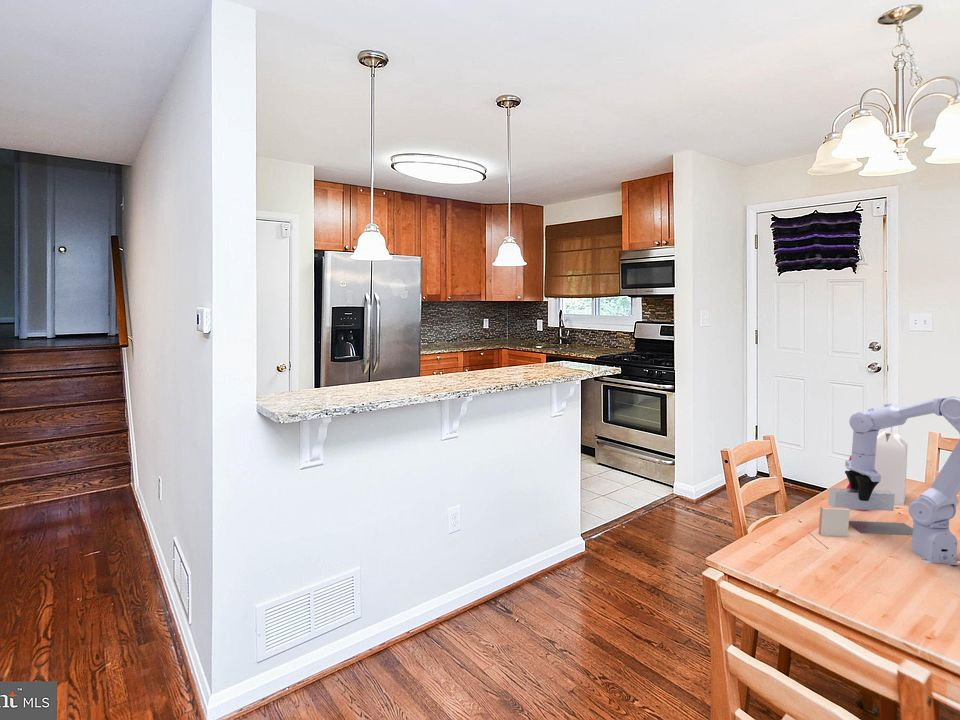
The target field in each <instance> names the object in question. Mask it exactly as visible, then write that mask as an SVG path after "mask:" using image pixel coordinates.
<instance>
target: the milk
mask: <svg viewBox="0 0 960 720" xmlns="http://www.w3.org/2000/svg"><path fill="white" fill-rule="evenodd" d="M907 465H908V443H906V440H905V438H904V437H903V436H902V435H901V434H900V433H896V431H894V430H893V427H889V428H885V429H884V430H883V431H882V432H880V433H878V436H877V444H876V457H875V470H876V471H877V472H878V474H879V475H881V482H879V483H878V484H877V485H876V486H875V488H874V490H888V491H890V492H892V493H894V494H895V498H894V506H902V507H903V506H904V505H905V500H906V489H907V487H906V486H907V485H906V484H907Z"/></svg>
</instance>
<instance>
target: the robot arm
mask: <svg viewBox="0 0 960 720" xmlns="http://www.w3.org/2000/svg"><path fill="white" fill-rule="evenodd" d="M931 414H935V415H936V416H939V417H943V418H944V419H945V420H946V421H947V422H948V423H949V424H950V425H951V426H952V427H953V429H955V430H956V431H957V432H958V434H959V435H960V396H958V395H957V396H948V397H947V396H946V397H937V398H931V399H927V400H924V401H920V402H917V403H913V404H910V405H906V406H901V405H899V404H892V403H891V402H890V403H884V404H883V407H878V408H868V409H867V411H863V412H861V411H857V412H856V413H853V414H852V415H850V417H849V421H848V422H849V426H850V428H851V429H852V430H853V431H852V433H853V434H852V444H851V445H852V446H851V455H852V457H851V460H849V459H848V460H847V459H846V460H845V462H844V463H845V464H844V466H845V468H846V469H847V470H845V471H844V474H845V475H846V478H847V480H848V482H849V483H850V488H851V489H859V498H860V500H861V501H869V499H870V496H871V494H872V491H873V490H874V488H875V486H876V485H877V484H878V483H879V482H881V475H879V474H878V472H877V471H876V470H875V457H876V444H877V436H878V434H879V431H881V430H883V429H884V430H885V429H886V428H889V427H892V428H893V427H898V426H902V425H905V424H906V422H907V421H908V419H911V418H916V417H921V416H926V415H927V416H928V415H931ZM849 483H848V484H849ZM959 492H960V439H959V440H958V442H957V443H956V445H955V447H954V448H953V450H952V451H951V453H950V454H949V456H948V458H947V460H946V461H945V463H944V465H943V466H942V468H941V469H940V471H939V473H937V476H936V478H935V479H934V480H933V482H932V484H931V485H930V487H928V488H927V489H926V490H924V491H923V492H922V493H921V494H920V495H919V497H918V498H916V499H914V500H913V501H911V502H910V504H909V505H908V514H909V516H910V518H912V528H913V533H912V535H911V547H910V550H911V552H913V553H915V554H916V555H918V556H920V557H923V558H921V560H922V561H924V562H925V563H927V564H929V563H930V564H947V565H948V566H960V563H959V562H958V561H957V555H958V554H957V553H958V545H959V544H958V539H957V537H956V536H955V535H954V534H953V533H952V531H951V530H950V520H951V519H953V518H955V516H956V513H957V505H958V504H959V501H960V500H959V498H958V497H957V495H958V494H959Z"/></svg>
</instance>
